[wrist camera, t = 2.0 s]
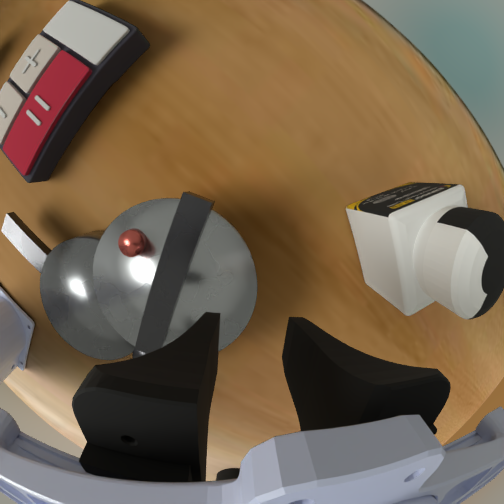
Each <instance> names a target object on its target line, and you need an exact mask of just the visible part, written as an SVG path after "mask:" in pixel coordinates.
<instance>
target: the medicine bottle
mask: <svg viewBox="0 0 504 504" xmlns="http://www.w3.org/2000/svg"><path fill="white" fill-rule="evenodd" d="M346 212H347V215H348V219H349V222H350V226H351V229H352V233H353V236H354V240H355V244H356V248H357V251H358V255H359V259H360V264H361V268H362V272H363V276H364V281H365V283H366V284H367V285H368V286H369V287H371V288H372V289H373V290H375V291H376V292H377V293H378V294H380V295H381V296H382V297H384V298H385V299H386V300H387V301H389V302H390V303H391V304H392V305H394V306H395V307H396V308H397V309H399V310H400V311H401V312H402V313H404V314H405V315H407V316H410V315H412V314H414V313H416V312H417V311H419V310H421V309H423V308H424V307H426V306H428V305H429V304H431V303H433V302H434V301H437V302H438V303H440V304H441V305H443V306H445V307H446V308H448V309H449V310H451V311H452V312H454V313H455V314H457V315H458V316H460V317H462V318H464V319H473V318H476V317H479V316H481V315H483V314H484V313H486V312H487V311H488V310H489V309H490V308H491V307H492V306H493V305H494V304H495V303H496V301H497V300H498V298H499V296H500V295H501V293H502V291H503V289H504V221H503V220H502V218H501V217H500V216H499V215H498V214H496V213H493V212H489V211H484V210H478V209H472V208H468V206H467V200H466V194H465V189H464V187H463V186H462V185H457V184H439V183H412V182H409V183H407V184H404V185H401V186H398V187H396V188H393V189H390V190H387V191H385V192H382V193H379V194H377V195H374V196H371V197H369V198H366V199H363V200H360V201H358V202H355V203H352V204H350V205H348V206H347V207H346Z"/></svg>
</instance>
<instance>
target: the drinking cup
mask: <svg viewBox="0 0 504 504" xmlns="http://www.w3.org/2000/svg"><path fill="white" fill-rule="evenodd" d="M239 473H240V469H235V468H233V469H225V470H222V471H220V472H218V474H217V478H216V481H219V480H229V479H237V478H238V476H239Z"/></svg>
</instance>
